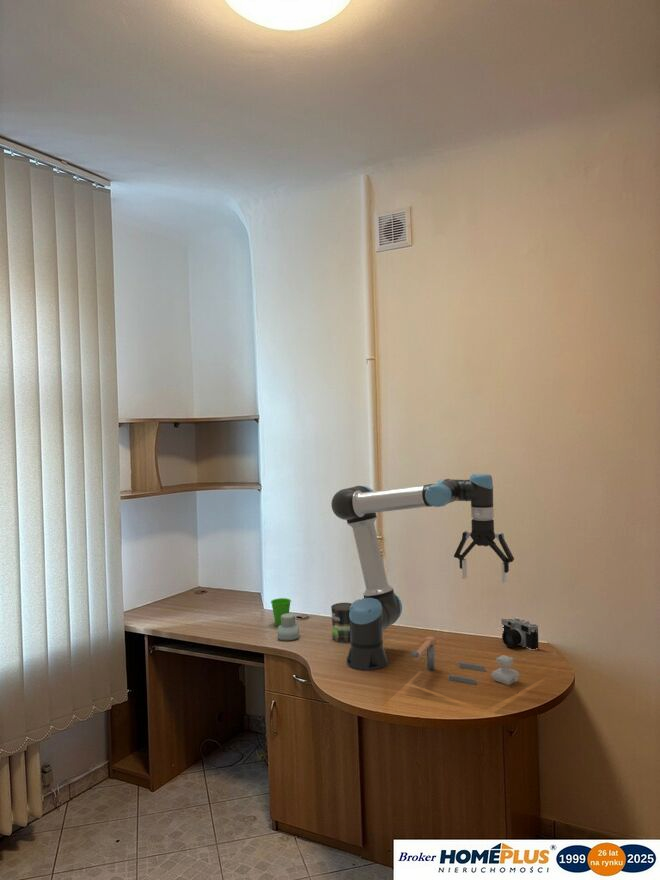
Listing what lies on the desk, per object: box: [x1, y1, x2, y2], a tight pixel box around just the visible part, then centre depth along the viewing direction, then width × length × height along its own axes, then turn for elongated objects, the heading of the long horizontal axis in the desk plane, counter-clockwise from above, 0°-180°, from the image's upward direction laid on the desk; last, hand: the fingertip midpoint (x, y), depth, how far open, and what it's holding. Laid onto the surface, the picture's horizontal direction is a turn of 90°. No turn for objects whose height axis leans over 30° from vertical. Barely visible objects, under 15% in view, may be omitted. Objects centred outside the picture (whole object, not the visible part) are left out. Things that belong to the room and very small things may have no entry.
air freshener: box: [277, 612, 300, 642], centre depth 250 cm, size 11×8×10 cm
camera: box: [500, 616, 539, 649], centre depth 236 cm, size 18×10×10 cm, turn 28°
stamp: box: [491, 654, 520, 686], centre depth 201 cm, size 9×7×8 cm
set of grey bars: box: [425, 644, 486, 685], centre depth 210 cm, size 20×13×10 cm, turn 61°
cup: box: [270, 597, 292, 628], centre depth 267 cm, size 9×9×11 cm
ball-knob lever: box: [411, 635, 436, 661], centre depth 206 cm, size 20×4×2 cm, turn 154°
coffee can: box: [330, 602, 353, 644], centre depth 247 cm, size 10×10×14 cm
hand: (484, 580), depth 209 cm, fingers open, 13 cm apart
